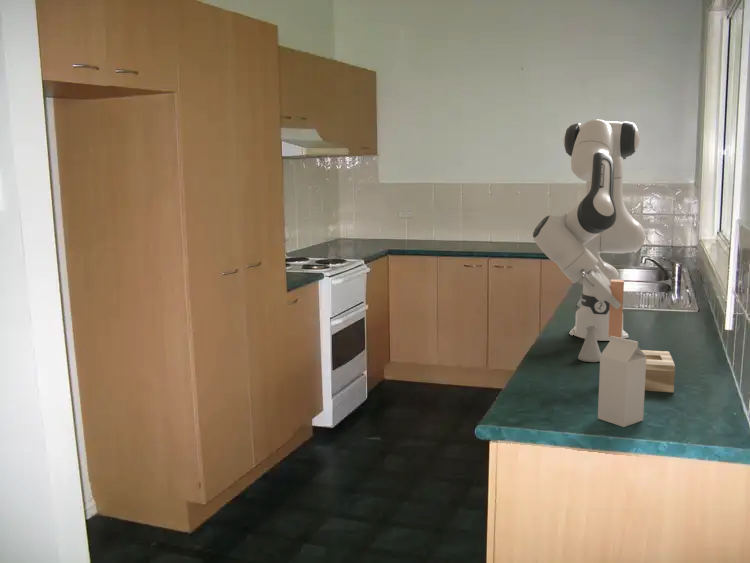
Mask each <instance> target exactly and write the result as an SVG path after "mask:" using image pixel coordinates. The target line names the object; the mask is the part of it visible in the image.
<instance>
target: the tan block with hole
mask: <svg viewBox="0 0 750 563" xmlns="http://www.w3.org/2000/svg"><path fill="white" fill-rule="evenodd" d="M640 350H641V351H642V352H643V353H644V355H645V356H646V375H645V391H646V392H647V391H648V392H663V393H665V392H666V393H674V391H675V376H676V374H675V373H676V365H675V362H674V360H673V357H672V355H671V353H670V351H666V350H664V351H662V350H648V349H647V350H645V349H640Z"/></svg>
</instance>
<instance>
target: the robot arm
mask: <svg viewBox="0 0 750 563" xmlns="http://www.w3.org/2000/svg"><path fill="white" fill-rule="evenodd" d="M640 140H641V139H640V131H639V130H638V126H637V125H636V124H635V122H631V121H625V120H624V121H616V120H615V121H613V120H612V121H610V120H603V119H598V118H597V119H596V118H594V119H591V120H588V121H586V122H584V123H581V122H579V123H578V122H577V123H573V124H570V126H568V128H567V129H566V130H565V133H564V137H563V146H564V150H565V153H566V154H567V155H568V156H569V157H571V158H570V168H571V171H572V173H573V174H574V175H575V176H576V177H577V178H579V179H580V180H581V181H585V182H586V183H585V184H586V185H585V186H586V187H585V197H584V198H583V199H582V200H581V201H580V202H579V203H578V204H576V205H575V206H574V207H573V208H572V209H571V210H570V211H568V212H567V213H564V214H561V215H555V216H554V215H547V216H545V217H544V218H543V219H542V220H540V222H539V223H538V224H537V225H536V227H535V228H534V230H533V232H532V238H533V240H534V242H535V244H536V245H537V247H538V248H539V249H540V250H541V252H543V254H544V255H545V256H546V257H547V258H548V259H549V260H551V261H552V262H554V263H555V264H556V265H557V266H558V268H559V269H560V271H561V272H562V274H564V275H565V276H566V277H567V278H568V279H569V280H570V281H571V283H573V284H576V283H579V284H580V285H583V287H582V288H583V289H582V293H581V297H580V303H581V306H580V307H579V308H578V309H577V310H576V312H575V316H574V319H575V322H574V327H573V328H571V330H570V331H569V334H570V336H573V335H574V337H578V338H581V339H584V340H585V339H586V334H587V329H586V326H596V327H597V329H596V339H597V341H599V342H600V341H602V342H603V341H605V342H607V341H609V342H610V337H609V336H608V330H609V308H610V304H611V305H612V306H613V307H614V308H615V309H618V308H619V307H621V303H620V302H619V301H618V300H617V299H616V298H615V297H614V296H613V295H612V293H611V287H610V286H611V279H613V280H620V279H619V277H620V276H619V275H620V274H619V272H618V270H617V269H616V267H614V266H613V265H611V264H610V263H608V262H606V261H604V260H603V258H601V255H600V254H628V253H634V252H638V251H639V250H640V249H641V248H642V247H643V245H644V243H645V239H646V233H645V229H644V227H643V226H642V224H641V223H640V222H638V221H637V220H636V219H634V217H632V216H631V214H630V213H629V211H628V209H627V207H626V205H625V202H624V195H623V194H624V192H623V178H624V177H623V175H624V173H623V170H624V168H623V160H626V159H627V158H628V157H631V156H632V155H633V154H635V153H636V152H637V149H638V147H639V146H640V145H639V144H640ZM621 338H623V339H628V338H629V334H628V333H627V332H626V331H625V330H624V312H623V313H622V334H621Z"/></svg>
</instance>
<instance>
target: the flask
mask: <svg viewBox="0 0 750 563" xmlns="http://www.w3.org/2000/svg"><path fill="white" fill-rule="evenodd" d="M586 329H587V334H586V339H584V342H583V344H582V347H581V349H580V352H579V354H578V357H577V359H578V360H580V361H583V362H588V363H597V362H599V363H600V355H601V354H602V352H601V350H600V346H599V344H598V340H597V339H596V329H597V327H596V326H586Z"/></svg>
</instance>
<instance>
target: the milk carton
mask: <svg viewBox="0 0 750 563" xmlns="http://www.w3.org/2000/svg"><path fill="white" fill-rule="evenodd" d="M641 350H642V349H641V348H640V347H639V341H636V340H632V339H628V338H619V337H614V336H610V341H609V342H608V343H607V345H606V346H605V347H604V349H603V350H602V352H601V355H600V361H599V375H598V377H599V380H598V382H599V383H598V399H597V400H598V404H597V407H598V408H597V419H598V420H601V421H604V422H608V423H611V424H613V425H616V426H619V427H622V428H625V427H629V426H631V425H635V424H637V423H639V422H642V421H644V414H645V413H644V410H645V394H646V393H645V391H646V390H645V375H646V356H645V355H644V353H643V352H642V351H641Z"/></svg>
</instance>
